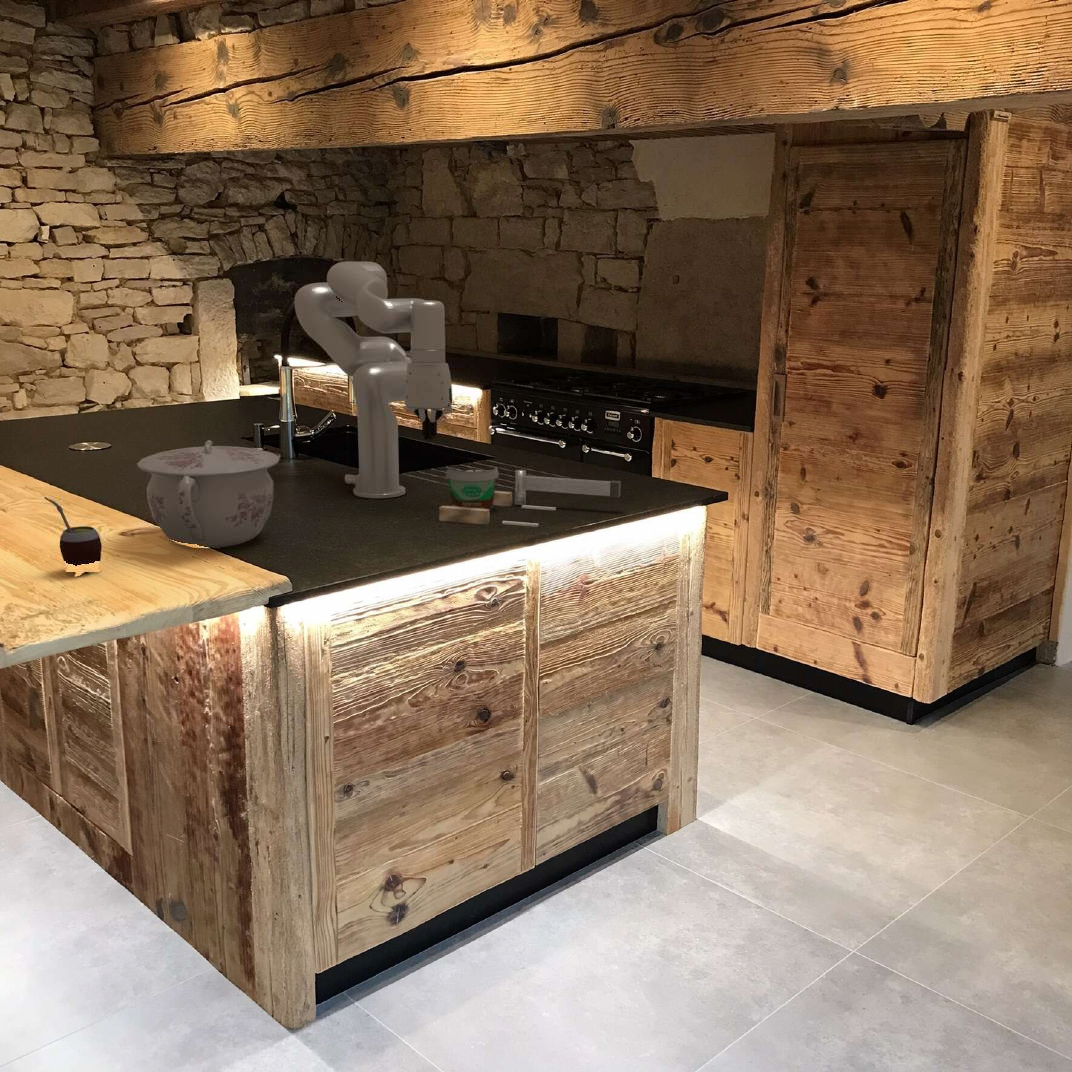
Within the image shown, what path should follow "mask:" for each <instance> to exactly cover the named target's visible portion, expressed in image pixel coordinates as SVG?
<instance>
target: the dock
mask: <svg viewBox="0 0 1072 1072" xmlns="http://www.w3.org/2000/svg"><path fill="white" fill-rule="evenodd" d="M512 505H513V492H512V491H500V490H494V499H493V506H499V507H511V506H512ZM438 509H439V510H438V511H439V513H438V515H439V516H438V517H439V521H440V522H451V523H461V524H462V523H463V524H474V525H484V526H485V525H486V526H487V525H488V524H490V522H491V521H490V520H491V519H490V518H491V517H490V514H491V512H490V509H480V508H467V507H454V506H452V505H451V506H450V505H441V506H439V508H438Z"/></svg>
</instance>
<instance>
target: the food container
mask: <svg viewBox="0 0 1072 1072" xmlns="http://www.w3.org/2000/svg"><path fill="white" fill-rule="evenodd" d="M445 473H446V474H445V478H447V479H448V484H449V485H448V486H449V494H450V501H451V506H454V507H467V508H480V509H490V513H491V512H492V511H493V509H494V508H493V507H494V505H493V499H494V491H496V490H495V488H496V479H497V478H499V476H500V475H499V471H498V468H497V466H495V467H494V469H485V470H483V469H478V468H477V469H476V468H475V469H474V468H473V469H472V468H470V469H466V470H455V469H451V468H450V467H447V470H446V472H445Z"/></svg>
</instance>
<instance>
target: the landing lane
mask: <svg viewBox="0 0 1072 1072" xmlns="http://www.w3.org/2000/svg"><path fill="white" fill-rule="evenodd" d="M521 509H530V510H531V509H532V510H541V511H542V510H543V511H544V510H545V511H556V510H557V507H556V506H542V505H541V506H539V505H531V504H530V505H526V504H525V505H521ZM501 524H502V525H507V526H510V525H511V526H521V527H533V528H538V527H539V525H540V524H539V523H538V522H537V523H536V522H533V523H532V522H524V521H512V520H511V521H509V520H502V522H501Z"/></svg>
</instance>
